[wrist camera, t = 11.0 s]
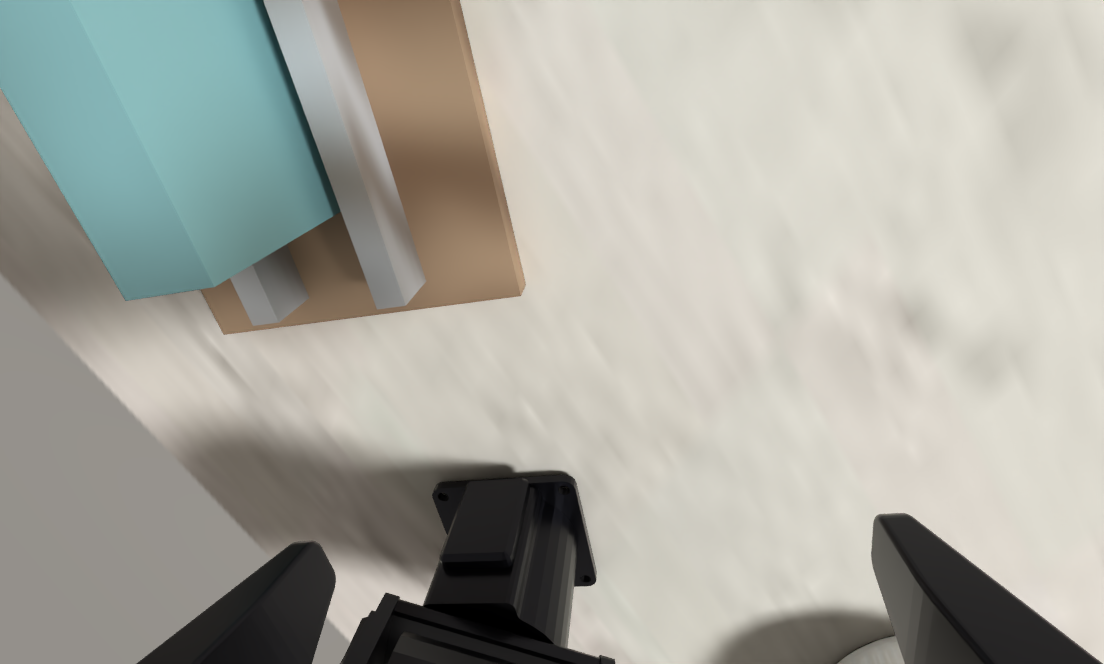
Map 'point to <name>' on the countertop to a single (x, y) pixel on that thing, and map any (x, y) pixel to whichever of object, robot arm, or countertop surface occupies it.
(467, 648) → the robot arm
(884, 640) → the ramekin
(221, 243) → the door panel
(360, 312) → the track
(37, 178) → the countertop surface
